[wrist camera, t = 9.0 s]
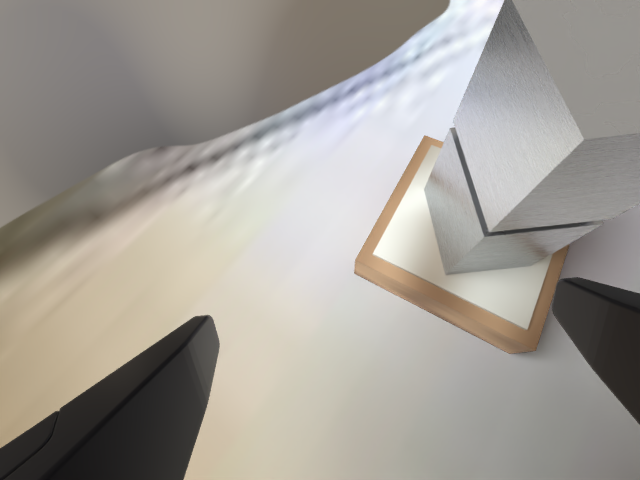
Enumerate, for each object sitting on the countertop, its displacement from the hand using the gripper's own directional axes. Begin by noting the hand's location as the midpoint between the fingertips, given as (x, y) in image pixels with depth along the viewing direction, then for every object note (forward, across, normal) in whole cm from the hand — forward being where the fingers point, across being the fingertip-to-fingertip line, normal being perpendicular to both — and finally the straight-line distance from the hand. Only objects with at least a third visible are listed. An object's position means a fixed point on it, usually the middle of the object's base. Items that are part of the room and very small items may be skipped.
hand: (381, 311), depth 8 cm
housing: (+12, -8, +3) cm, 15 cm away
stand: (+14, -8, +5) cm, 17 cm away
